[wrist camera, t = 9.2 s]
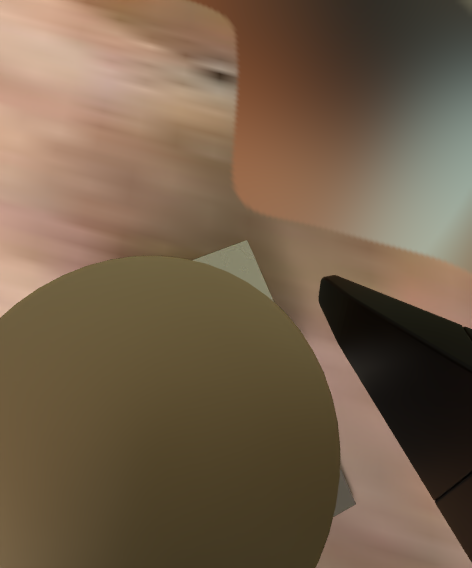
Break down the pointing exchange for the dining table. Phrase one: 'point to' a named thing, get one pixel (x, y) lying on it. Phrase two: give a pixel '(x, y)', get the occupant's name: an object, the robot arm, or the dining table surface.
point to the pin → (161, 424)
